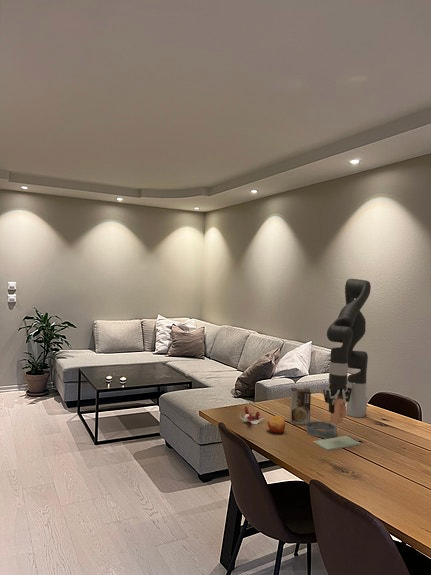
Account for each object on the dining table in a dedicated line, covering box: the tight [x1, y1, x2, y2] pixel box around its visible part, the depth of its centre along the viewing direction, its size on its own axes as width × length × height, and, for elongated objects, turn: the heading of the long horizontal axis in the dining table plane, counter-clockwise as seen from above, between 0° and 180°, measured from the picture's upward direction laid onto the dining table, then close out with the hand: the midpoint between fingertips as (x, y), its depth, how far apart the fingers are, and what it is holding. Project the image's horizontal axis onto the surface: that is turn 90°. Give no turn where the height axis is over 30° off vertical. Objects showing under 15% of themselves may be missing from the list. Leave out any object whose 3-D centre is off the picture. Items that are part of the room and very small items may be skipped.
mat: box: [312, 435, 362, 451], centre depth 184 cm, size 18×9×1 cm, turn 115°
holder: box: [305, 420, 338, 439], centre depth 196 cm, size 13×13×3 cm
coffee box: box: [289, 387, 312, 426], centre depth 209 cm, size 9×6×16 cm
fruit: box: [266, 415, 286, 434], centre depth 196 cm, size 8×8×8 cm
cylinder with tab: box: [330, 397, 347, 424], centre depth 183 cm, size 7×5×10 cm
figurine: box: [239, 405, 264, 425], centre depth 206 cm, size 15×12×7 cm
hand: (336, 412), depth 184 cm, fingers closed on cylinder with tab, 5 cm apart
